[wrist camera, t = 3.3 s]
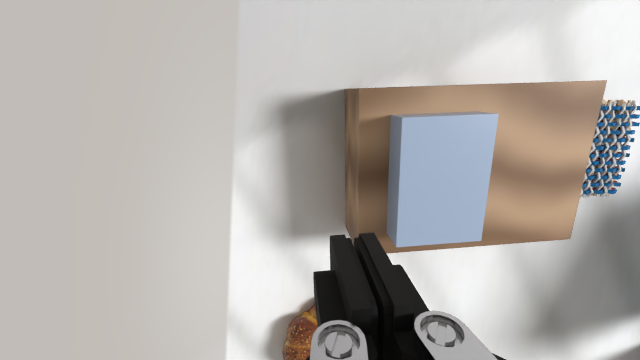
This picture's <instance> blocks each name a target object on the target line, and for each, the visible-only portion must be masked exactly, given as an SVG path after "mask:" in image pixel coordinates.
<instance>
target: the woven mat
mask: <svg viewBox="0 0 640 360" xmlns="http://www.w3.org/2000/svg"><path fill="white" fill-rule="evenodd" d="M612 101H613V100H608V102H606V101H605V100H604V99H603V100H602V104H601V108H600V112H599V117H598V121H597V125H596V129H595V134H594V138H593V142H592V147H591V151H590V155H589V160H588V164H587V168H586V172H587V174H586V172H585V177H584V181H583V185H582V190H581V194H580V195H583V198H585V197H586V195H587V194H588V195H587V197H589V196H590V195H591V194H593V195H594V196H595V195H596V196H597V197H599V196H598V195H599V194H601V195H600V196H601V197H603V196H604V195H606V197H609V194H614V193H616V192H617V190H616V188H612V187H613V186H620V185H621V183H617V181H613V180H614V179H620V178H621V175H619V174H618V173H619V172H621V171H622V172H624V171H625V168H622V167H621V165H624V164H625V162H626V161H622V159H623V158H624V157H629V155H630V154H628V153H626V151H625V150H628V149H630V146H629V145H627V144H628V142H634V138H631V137H630V136H629V134H634V133H635V130H631V128H630V127H631V126H639V124H640V123H636V122H632V121H631V119H632V118H639V116H640V115H636V114H633V112H634V111H635V110H640V106H636V103H635V100H634V101H632V103H631V101H628V103H626V102H625V101H624V100H620V101H618V102H616V101H614V102H613V104H612ZM616 103H617V105H618V106H616ZM606 104H607V105H606ZM605 105H606V106H605ZM632 105H633V106H632ZM602 110H605V111H604V113H603V111H602ZM614 110H616V111H614ZM623 113H624V114H623ZM620 118H622V120H620ZM601 120H603V121H601ZM627 120H628V121H627ZM598 126H601V127H600V129H599V128H598ZM619 126H620V128H621V129H618V127H619ZM604 134H605V135H604ZM616 134H618V135H617V136H616ZM597 135H598V136H597ZM596 136H597V137H596ZM625 136H626V137H625ZM602 142H604V144H605V145H601V144H602ZM621 142H625V143H624V144H623V145H621ZM613 144H614V145H613ZM603 149H604V150H603ZM620 149H621V150H622V152H618V151H619V150H620ZM600 150H603V151H601V152H599V151H600ZM597 157H600V160H597ZM616 157H620V158H619V159H616ZM590 158H591V159H590ZM615 164H617V166H615ZM606 165H608V166H606ZM592 179H595V180H594V181H592ZM603 179H604V181H603ZM585 180H586V181H585ZM598 186H599V187H598ZM585 194H586V195H585Z"/></svg>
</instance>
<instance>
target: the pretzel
mask: <svg viewBox="0 0 640 360" xmlns="http://www.w3.org/2000/svg"><path fill="white" fill-rule="evenodd" d="M317 328H318V327H317V319H316V309H315V304H314V306H313V307H312V308H311V310H310V311H306V312H304V313H303V315H302V316H301V317H296V318H295V319H294V320H293V321H292V322H291V324H290V325H289V327H288V331H287V340H286V343H285V345H284V348H283V358H284V360H306V359H307V358H308V357H309V355H310V351H311V341H312V337H313V333H314V332H315V331H316V329H317Z"/></svg>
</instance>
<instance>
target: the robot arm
mask: <svg viewBox="0 0 640 360" xmlns="http://www.w3.org/2000/svg"><path fill="white" fill-rule="evenodd" d="M330 267H331V270H330V271H318V272H314V297H315V309H316V319H317V327H318V328H317V329H316V331H315V332H314V333H313V337H312V341H311V351H310V355H309V357H308V358H307V359H306V360H506V359H503V358H501V357H499V356H497V355H495V354H493V353H491V352H490V351H489V350H488V349H487V348H486V347H485V346H484V345H483V343H482V342H481V341H480V340H479V339H478V338H477V337H476V336H475V335H474V334H473V333H472V332H471V331H470V330H469V328H468V327H467V326H466V325H465V324H464V323H462V322H461V321H460V320H459V319H458V318H456V317H454V316H452V315H450V314H447V313H444V312H440V311H429V309H428V308H427V306H426V305H425V303H424V301H423V300H422V298H421V297H420V295H419V293H418V292H417V290H416V288H415V287H414V285H413V284H412V282H411V280H410V279H409V277H408V275H407V274H406V272H405V271H404V269H403V267H402V266H401V265H392V263H391V261H390V259H389V258H388V256H387V254H386V252H385V251H384V249H383V247H382V245H381V244H380V242H379V240H378V238H377V237H376V235H375V233H359V237H356V238H354V245H353V243H352V240H351V238H346V237H345V235H333V236H330Z"/></svg>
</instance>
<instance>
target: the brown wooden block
mask: <svg viewBox="0 0 640 360" xmlns="http://www.w3.org/2000/svg"><path fill="white" fill-rule="evenodd" d="M606 82H607V80H602V81H572V82H542V83H510V84H478V85H448V86H418V87H388V88H358V89H345V168H346V227H347V230H348V232H349V235H350V237H351V240H352V242H353V245H354V238H356V237H359V233H375V235H376V237H377V238H378V240H379V242H380V244H381V245H382V247H383V249H384V251H385V252H386V253H398V252H410V251H423V250H436V249H449V248H461V247H474V246H487V245H500V244H513V243H525V242H538V241H551V240H564V239H570V237H571V233H572V228H573V224H574V220H575V215H576V211H577V207H578V203H579V198H580V194H581V190H582V185H583V181H584V177H585V172H586V168H587V164H588V160H589V155H590V151H591V147H592V142H593V138H594V134H595V129H596V125H597V121H598V117H599V112H600V108H601V104H602V99H603V95H604V91H605V86H606ZM472 111H480V112H488V113H497V114H499V116H498V123H497V130H496V137H495V145H494V152H493V159H492V167H491V174H490V181H489V188H488V196H487V203H486V210H485V217H484V225H483V232H482V239H481V241H473V242H460V243H447V244H434V245H421V246H408V247H396V246H395V245H394V243H393V242H392V240H391V239H390V237H389V236H388V234H387V206H388V178H389V150H390V122H391V115H399V114H424V113H448V112H472Z"/></svg>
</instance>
